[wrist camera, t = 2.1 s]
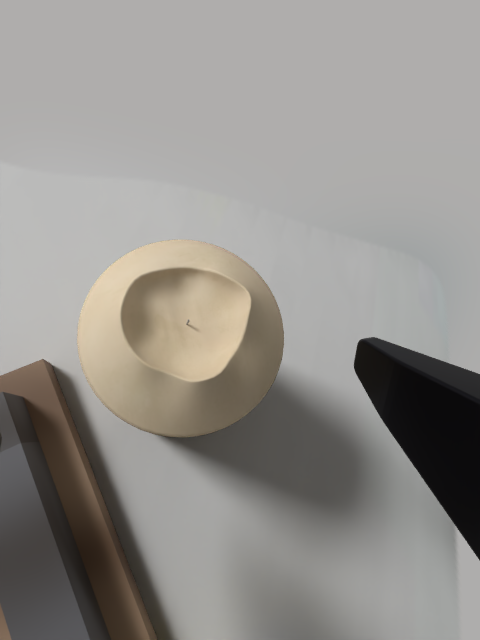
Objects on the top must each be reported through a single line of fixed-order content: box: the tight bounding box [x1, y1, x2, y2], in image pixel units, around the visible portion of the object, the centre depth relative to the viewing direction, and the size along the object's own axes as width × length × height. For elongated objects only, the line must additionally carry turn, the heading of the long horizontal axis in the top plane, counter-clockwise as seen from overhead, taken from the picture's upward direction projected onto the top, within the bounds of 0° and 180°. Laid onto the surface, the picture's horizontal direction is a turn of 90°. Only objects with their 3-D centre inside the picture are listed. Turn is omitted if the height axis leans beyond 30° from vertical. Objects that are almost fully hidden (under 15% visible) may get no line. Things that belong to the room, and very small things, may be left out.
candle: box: [77, 240, 284, 437], centre depth 13 cm, size 6×6×10 cm
